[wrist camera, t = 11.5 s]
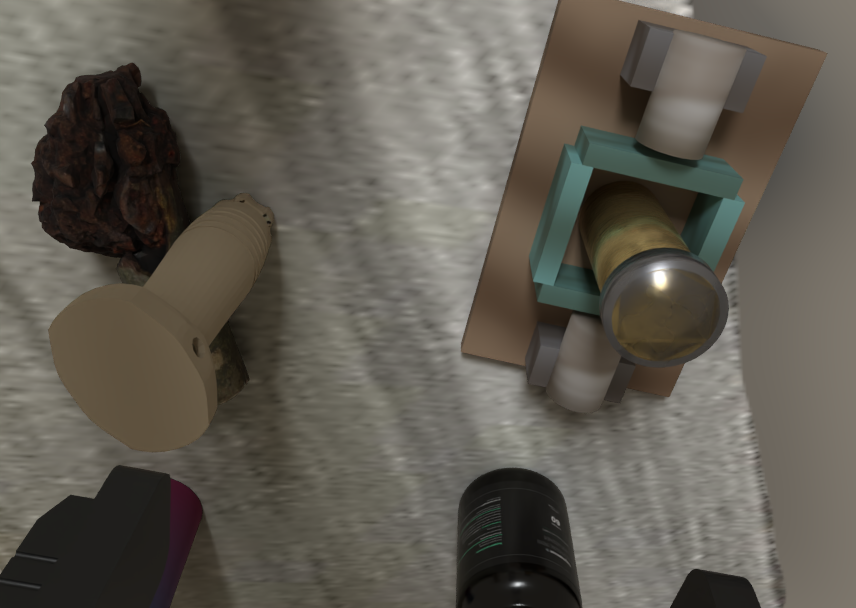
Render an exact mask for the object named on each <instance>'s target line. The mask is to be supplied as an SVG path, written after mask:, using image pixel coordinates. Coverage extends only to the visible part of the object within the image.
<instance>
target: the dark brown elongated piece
mask: <svg viewBox="0 0 856 608" xmlns="http://www.w3.org/2000/svg"><path fill="white" fill-rule="evenodd" d="M140 86H141V73H140V70H139V68H138V67H137V66H136V65H135V64H134V63H130V64H128V65H125V66H123V65H122V66H120V67H119V68H117V70H116V71H114V72H113V71H111V70H110V71H108V72H105V73H102V74H99V75H83V76H79V77H76V79H75V81H74V82H73V83H70V84H68V85H67V86H66V88H65V89H64V91H63V92H62V98H61V102H60V106H59V108H58V111H57V112H56V113H55V114H54V115H52V116H51V117H50V118H49V119H48V121H47V122H46V123H45V125H44V126H45V127H46V128H47V135H45V136H44V137H43V138H42V139H41V140H40V141H39V142H38V144H37V147H36V149H35V157H34V161H33V162H32V163H31V164H32V166H33V168H34V171H35V180H34V182H33V187H32V192H33V198H32V201H40V206H39V211H38V215H39V221H40V222H42V228H43V229H44V231H45V232H46V233H48V234H49V235H50V236H51V237H53V238H54V239H56V240H57V241H59V242H60V243H65V244H66V245H67V246H68V247H69V248H72V249H77V250H81V251H83V252H94V253H98V254H102V255H105V256H110V257H118V258H121V259H120V261H119V264H118V265H117V271H118V273H119V276H120V279H121V281H122V284H132V285H137V286H141V287H143V286H144V285H145V284H146V282H147V281H148V280H149V278H150V277H151V276H152V274H153V273H154V271H155V270H156V268H157V267H158V265H159V264H160V263H161V261H162V260H163V258H164V257H165V255H166V254H167V252H168V251H169V249H170V248H171V247H172V245H173V244H174V242H175V241H176V240H177V239H178V237H179V236H180V235H181V234H182V233H183V232H184V231H185V230H186V228H187V227H188V226H189V225H190V224H191V223H190V220H189V218H188V215H187V212H186V209H185V206H184V203H183V200H182V196H181V193H180V190H179V187H178V183H177V174H176V166H178V165H179V163H180V150H179V148H178V145H177V142H176V134H175V132H174V131H173V130H172V129H171V126H170V120H169V117H168V115H167V113H166V111H164V110H163V109H160V108H154V107H153V106H151V104H150V103H149V101H148V100H147V99H146V97H145V96H144V95H143V94H142V93H140V92H139V89H138V88H139V87H140ZM209 348H210V352H211V355H212V359H213V363H214V369H215V374H216V383H217V405H220V404H223V403H225V402H227V401H229V400H230V399H232V398H233V397H235V396H236V395H237V394H238V393H239V392H240V391H241V390H242V389H243V388H244V382H245V383H246V384H247V383H248V381H249V376H248V373H247V370H246V368H245V365H244V363H243V360H242V357H241V355H240V353H239V350H238V348H237V345H236V342H235V340H234V337H233V335H232V332H231V329H230V327H229V325H228V322H226V323H225V324H224V326H223V327H222V329H221V330H220V331H219V333H218V334H217V335H216V337H215V338H214V340H213V341H212V342H211V344H210V345H209Z"/></svg>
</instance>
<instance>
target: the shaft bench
mask: <svg viewBox="0 0 856 608" xmlns="http://www.w3.org/2000/svg"><path fill="white" fill-rule="evenodd" d="M826 55H827V53H825V52H823V51H820V50H818V49H814V48H810V47H806V46H802V45H798V44H794V43H790V42H785V41H781V40H777V39H773V38H769V37H765V36H761V35H757V34H753V33H749V32H745V31H740V30H737V29H733V28H729V27H725V26H721V25H716V24H712V23H708V22H704V21H700V20H696V19H692V18H688V17H684V16H680V15H676V14H672V13H668V12H664V11H660V10H656V9H652V8H647V7H643V6H639V5H635V4H631V3H627V2H623V1H619V0H558V4H557V7H556V11H555V14H554V18H553V21H552V25H551V28H550V32H549V35H548V39H547V42H546V46H545V49H544V53H543V56H542V60H541V63H540V67H539V71H538V74H537V78H536V81H535V85H534V88H533V92H532V95H531V99H530V102H529V106H528V109H527V113H526V116H525V120H524V123H523V127H522V131H521V134H520V138H519V141H518V145H517V148H516V152H515V155H514V159H513V162H512V166H511V169H510V173H509V176H508V180H507V183H506V187H505V191H504V194H503V198H502V201H501V205H500V208H499V212H498V215H497V219H496V222H495V226H494V229H493V233H492V236H491V240H490V243H489V247H488V251H487V254H486V258H485V261H484V265H483V268H482V272H481V275H480V279H479V282H478V286H477V289H476V293H475V296H474V300H473V303H472V307H471V311H470V314H469V318H468V321H467V325H466V328H465V332H464V335H463V339H462V342H461V352H463V353H468V354H472V355H477V356H482V357H486V358H491V359H495V360H500V361H505V362H509V363H514V364H518V365H523V366H526V371H527V380H528V384H532V385H537V386H542V387H546V391H547V394H548V395H549V397H550V398H551V399H552V400H553V401H554V402H556V403H557V404H559V405H560V406H562V407H564V408H566V409H568V410H571V411H575V412H579V413H592V412H595V411H597V410H599V409H600V407H601V405H602V402H603V400H607V401H611V402H616V403H620V402H621V400H622V397H623V395H624V393H625V390H626V388H629V389H634V390H638V391H643V392H647V393H652V394H657V395H661V396H666V397H669V396H670V394H671V392H672V390H673V388H674V386H675V383H676V381H677V379H678V377H679V375H680V373H681V370H682V368H683V366H684V364H685V363H683V364H680V365H676V366H671V367H663V368H655V367H646V366H642V365H638V364H635V363H633V362H631V361H629V360H627V359H625V358H624V357H622V356H621V355H620V354H619V353H618V352H617V351H616V350H615V349H614V348H613V347H612V345H611V344H610V342H609V340H608V338H607V336H606V333H605V330H604V327H603V323H602V320H601V317H600V312H599V299H600V294H601V293H600V290H599V287H598V284H597V281H596V278H595V275H594V272H593V269H592V266H591V263H590V260H589V257H588V254H587V251H586V248H585V245H584V242H583V239H582V236H581V233H580V229H579V215H580V211H581V208H582V206H583V204H584V202H585V201H586V199H587V198H588V197H589V196H590V195H591V194H592V193H593V192H594V191H595V190H596V189H598V188H600V187H601V186H603V185H605V184H608V183H611V182H615V181H632V182H636V183H639V184H641V185H643V186H645V187H646V188H648V189H649V190H650V191H651V192H652V193H653V194H654V195H655V197H656V198H657V200H658V202H659V203H660V205H661V206H662V208H663V209H664V211H665V212H666V214H667V216H668V217H669V219H670V220H671V222H672V223H673V225H674V227H675V228H676V230H677V231H678V233H679V234H680V236H681V238H682V239H683V241H684V242H685V244H686V245H687V247H688V248H689V250H690V252H691V253H693V254H695V255H697V256H698V257H700V258H701V259H702V260H704V261H705V262H706V263H707V264H708V265H709V267H710V268H711V269H712V271H713V272H714V274H715V275H716V277H717V278H718V280H719V281H720V283H721V284H722V281H723V279H724V277H725V275H726V273H727V271H728V268H729V266H730V264H731V262H732V260H733V258H734V255H735V253H736V251H737V249H738V247H739V245H740V242H741V240H742V238H743V236H744V234H745V232H746V229H747V227H748V225H749V223H750V221H751V219H752V216H753V214H754V212H755V210H756V207H757V205H758V203H759V201H760V199H761V197H762V194H763V192H764V190H765V188H766V186H767V183H768V182H769V179H770V177H771V175H772V173H773V171H774V169H775V166H776V164H777V162H778V160H779V158H780V156H781V153H782V151H783V149H784V147H785V144H786V142H787V140H788V138H789V136H790V134H791V132H792V130H793V127H794V125H795V123H796V121H797V119H798V117H799V114H800V112H801V110H802V108H803V106H804V103H805V101H806V99H807V97H808V95H809V93H810V90H811V88H812V86H813V84H814V81H815V80H816V77H817V75H818V73H819V71H820V69H821V66H822V64H823V62H824V60H825V58H826Z"/></svg>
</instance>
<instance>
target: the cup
mask: <svg viewBox="0 0 856 608" xmlns="http://www.w3.org/2000/svg"><path fill="white" fill-rule="evenodd" d="M201 518H202V506H201V503H200V500H199V499H198V497H197V496H196V494H195V493H194V492H193V491H192V490H191V489H190V488H188V487H187V486H186V485H184V484H182V483H180V482H178V481H176V480H173V479H171V502H170V544H169V552H168V557H167V562H166V566H165V569H164V573H163V576H162V579H161V582H160V584H159V587H158V589H157V591H156V594H155V596H154V598H153V600H152V603H151V605H150V607H149V608H170V605H171V602H172V599H173V596H174V594H175V591H176V588H177V585H178V582H179V579H180V577H181V574H182V571H183V568H184V565H185V563H186V560H187V557H188V554H189V551H190V549H191V546H192V543H193V540H194V537H195V535H196V532H197V529H198V526H199V523H200V521H201Z"/></svg>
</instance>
